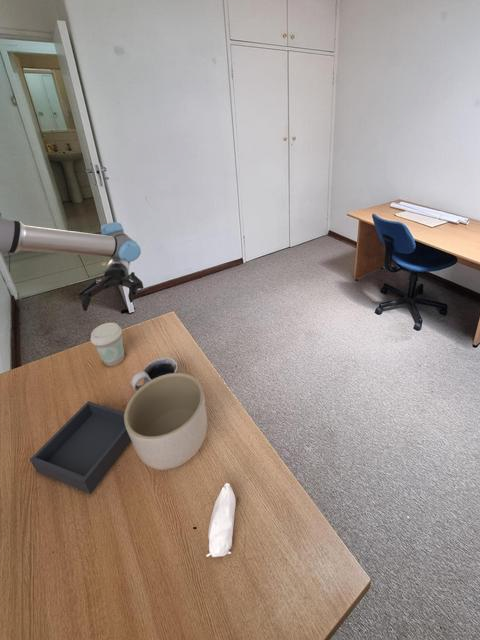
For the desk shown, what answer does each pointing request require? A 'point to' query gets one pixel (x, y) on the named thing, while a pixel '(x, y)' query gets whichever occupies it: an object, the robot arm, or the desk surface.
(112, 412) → the bin
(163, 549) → the desk surface
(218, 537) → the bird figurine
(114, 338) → the coffee cup
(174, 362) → the mug
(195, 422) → the planter
